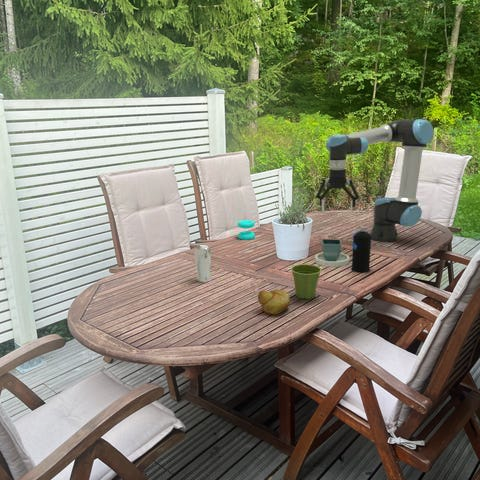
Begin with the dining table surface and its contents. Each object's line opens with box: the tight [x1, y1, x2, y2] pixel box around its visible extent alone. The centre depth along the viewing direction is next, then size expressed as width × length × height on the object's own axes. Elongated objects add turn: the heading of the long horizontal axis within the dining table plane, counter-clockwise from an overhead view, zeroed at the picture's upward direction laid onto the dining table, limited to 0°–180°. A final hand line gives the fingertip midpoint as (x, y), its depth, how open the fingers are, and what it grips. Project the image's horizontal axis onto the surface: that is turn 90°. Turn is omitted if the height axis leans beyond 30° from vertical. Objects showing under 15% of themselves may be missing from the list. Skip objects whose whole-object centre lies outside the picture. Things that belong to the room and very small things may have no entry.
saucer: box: [314, 251, 351, 268], centre depth 212 cm, size 16×16×2 cm
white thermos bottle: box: [194, 244, 212, 283], centre depth 191 cm, size 7×7×15 cm
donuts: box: [237, 219, 256, 241], centre depth 255 cm, size 10×10×10 cm
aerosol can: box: [350, 225, 372, 274], centre depth 197 cm, size 8×8×20 cm
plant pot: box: [290, 263, 323, 300], centre depth 171 cm, size 12×12×11 cm
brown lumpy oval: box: [257, 289, 291, 315], centre depth 161 cm, size 13×10×8 cm
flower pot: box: [321, 238, 342, 261], centre depth 211 cm, size 9×9×9 cm
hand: (337, 213), depth 211 cm, fingers open, 13 cm apart
